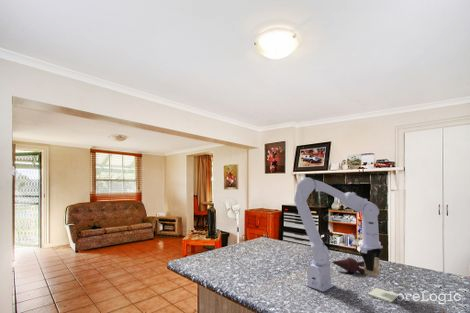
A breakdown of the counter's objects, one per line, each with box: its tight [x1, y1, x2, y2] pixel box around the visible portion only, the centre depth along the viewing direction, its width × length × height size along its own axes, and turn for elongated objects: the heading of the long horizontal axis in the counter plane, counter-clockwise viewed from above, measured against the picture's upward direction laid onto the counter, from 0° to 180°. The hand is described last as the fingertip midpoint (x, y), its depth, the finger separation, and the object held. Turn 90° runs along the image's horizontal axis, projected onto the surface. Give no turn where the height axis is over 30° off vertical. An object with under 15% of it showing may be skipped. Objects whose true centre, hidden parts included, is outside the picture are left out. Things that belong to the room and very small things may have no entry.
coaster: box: [367, 287, 400, 304], centre depth 96 cm, size 8×8×1 cm
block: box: [363, 257, 381, 277], centre depth 100 cm, size 4×4×6 cm
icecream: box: [331, 257, 366, 275], centre depth 120 cm, size 7×7×15 cm
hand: (372, 268), depth 100 cm, fingers open, 4 cm apart
